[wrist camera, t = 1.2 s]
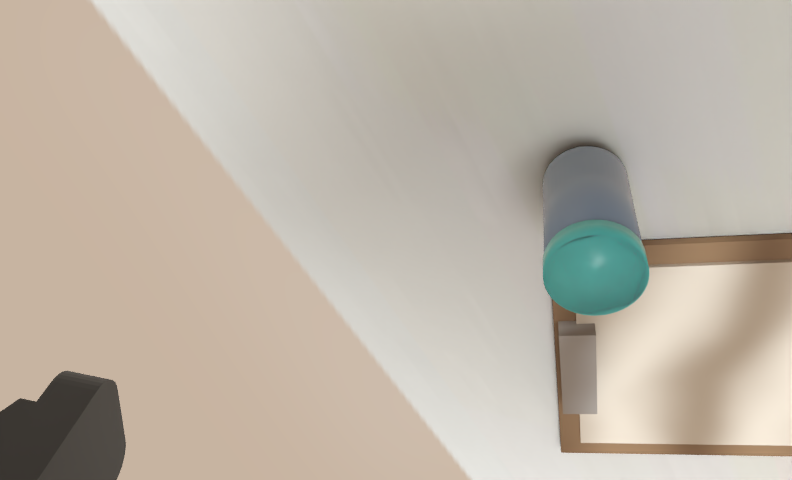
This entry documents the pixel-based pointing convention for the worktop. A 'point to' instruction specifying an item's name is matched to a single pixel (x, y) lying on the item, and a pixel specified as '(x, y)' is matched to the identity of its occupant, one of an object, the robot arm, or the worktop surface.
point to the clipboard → (685, 355)
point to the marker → (591, 234)
